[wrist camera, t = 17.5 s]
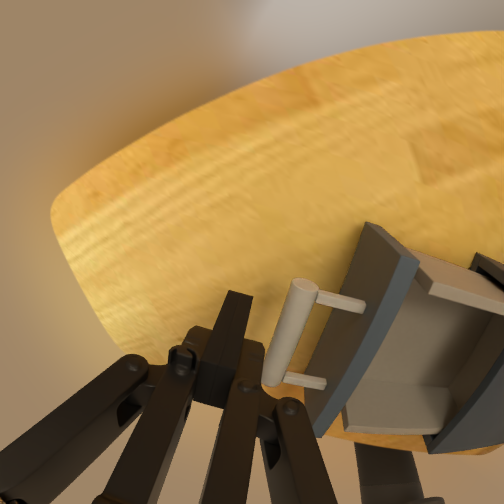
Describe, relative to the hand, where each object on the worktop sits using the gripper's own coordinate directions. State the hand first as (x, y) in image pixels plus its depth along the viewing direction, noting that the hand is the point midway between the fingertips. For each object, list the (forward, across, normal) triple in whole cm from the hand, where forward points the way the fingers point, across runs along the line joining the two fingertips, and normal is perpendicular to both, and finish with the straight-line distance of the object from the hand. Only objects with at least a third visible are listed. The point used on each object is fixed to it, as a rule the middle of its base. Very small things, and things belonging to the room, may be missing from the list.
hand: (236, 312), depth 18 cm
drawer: (+4, +12, 0) cm, 13 cm away
